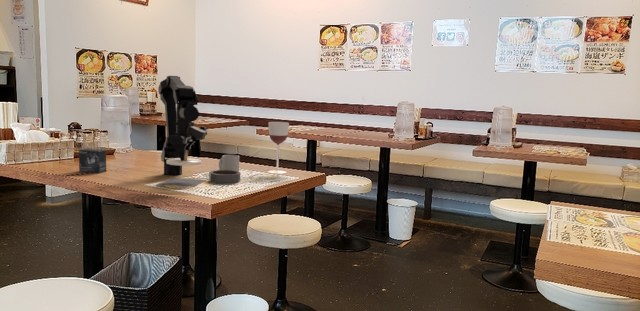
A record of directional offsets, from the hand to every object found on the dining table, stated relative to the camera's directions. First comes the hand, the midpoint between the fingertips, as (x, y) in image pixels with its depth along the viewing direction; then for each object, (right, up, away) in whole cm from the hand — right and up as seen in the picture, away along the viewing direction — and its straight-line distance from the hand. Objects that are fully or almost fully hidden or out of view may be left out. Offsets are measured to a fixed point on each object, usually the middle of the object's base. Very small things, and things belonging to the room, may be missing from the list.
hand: (183, 159), depth 190 cm
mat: (-1, -9, +1) cm, 9 cm away
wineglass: (+33, -6, +38) cm, 50 cm away
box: (-44, -5, +18) cm, 48 cm away
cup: (+13, -7, +22) cm, 27 cm away
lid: (0, -1, 0) cm, 1 cm away
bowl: (+14, -9, +8) cm, 19 cm away
